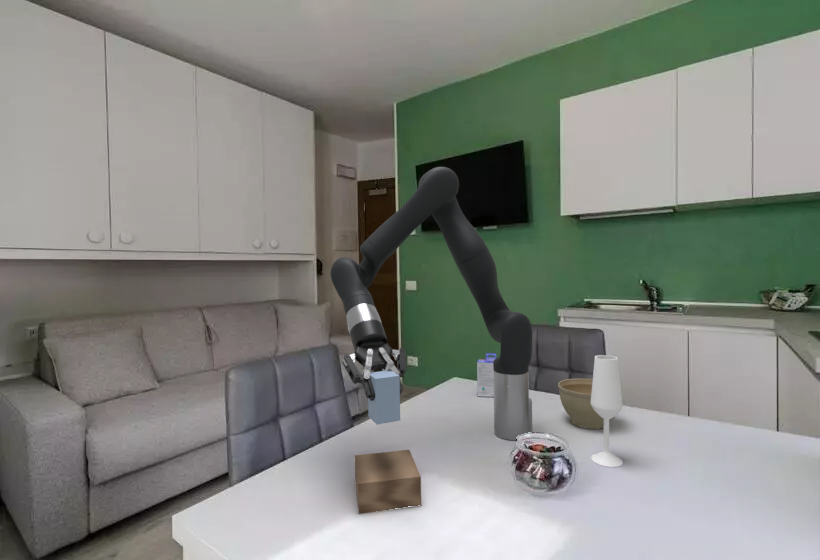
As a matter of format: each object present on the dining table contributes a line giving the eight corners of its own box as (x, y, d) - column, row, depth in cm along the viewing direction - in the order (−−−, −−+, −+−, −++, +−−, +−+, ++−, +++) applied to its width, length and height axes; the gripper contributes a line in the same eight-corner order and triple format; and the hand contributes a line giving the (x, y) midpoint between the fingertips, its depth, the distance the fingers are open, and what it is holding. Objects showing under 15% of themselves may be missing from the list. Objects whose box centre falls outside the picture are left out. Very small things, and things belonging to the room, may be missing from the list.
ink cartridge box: (506, 393, 147) (505, 352, 147) (506, 398, 142) (505, 356, 142) (477, 392, 149) (477, 352, 149) (477, 397, 144) (476, 355, 144)
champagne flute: (626, 459, 96) (626, 356, 96) (617, 469, 92) (617, 362, 91) (596, 450, 101) (596, 353, 100) (586, 460, 96) (585, 358, 95)
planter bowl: (622, 419, 121) (622, 382, 121) (616, 439, 107) (616, 397, 107) (565, 409, 130) (564, 375, 129) (552, 427, 116) (552, 389, 116)
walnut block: (410, 476, 91) (409, 449, 91) (421, 507, 80) (420, 476, 79) (355, 482, 89) (354, 455, 89) (358, 515, 77) (357, 483, 77)
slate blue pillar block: (391, 412, 87) (390, 370, 87) (400, 420, 83) (399, 375, 82) (368, 416, 85) (367, 373, 85) (376, 424, 81) (375, 378, 80)
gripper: (337, 320, 88) (355, 392, 77) (399, 316, 93) (424, 382, 83) (331, 341, 93) (347, 411, 82) (391, 335, 98) (413, 400, 88)
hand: (386, 396), depth 83 cm, fingers closed on slate blue pillar block, 5 cm apart
